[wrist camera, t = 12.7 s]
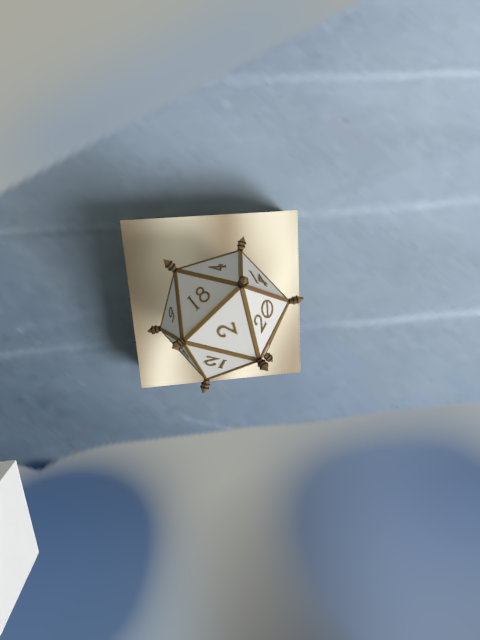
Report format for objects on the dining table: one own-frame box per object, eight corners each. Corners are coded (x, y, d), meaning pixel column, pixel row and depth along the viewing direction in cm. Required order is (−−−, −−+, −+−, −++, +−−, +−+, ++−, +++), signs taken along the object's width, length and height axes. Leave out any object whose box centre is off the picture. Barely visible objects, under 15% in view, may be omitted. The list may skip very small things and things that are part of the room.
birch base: (147, 368, 32) (142, 387, 28) (129, 220, 29) (119, 220, 25) (287, 354, 34) (300, 371, 30) (284, 211, 30) (297, 210, 27)
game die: (212, 268, 31) (247, 180, 22) (286, 346, 30) (355, 289, 21) (119, 335, 27) (116, 262, 18) (202, 428, 26) (243, 400, 17)
